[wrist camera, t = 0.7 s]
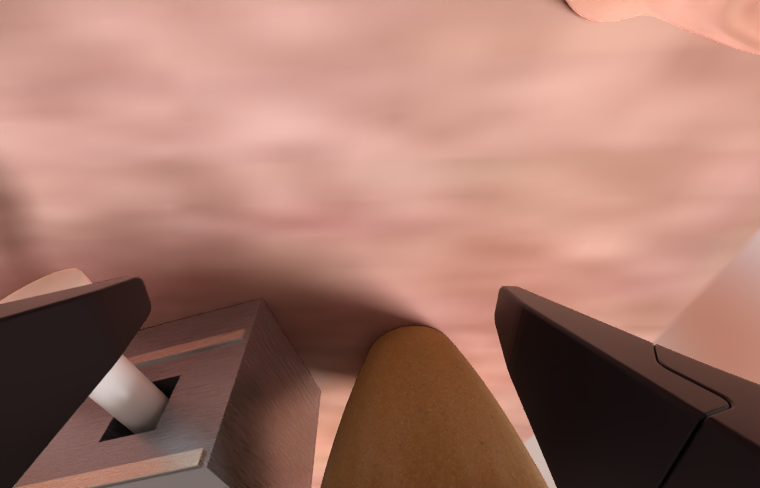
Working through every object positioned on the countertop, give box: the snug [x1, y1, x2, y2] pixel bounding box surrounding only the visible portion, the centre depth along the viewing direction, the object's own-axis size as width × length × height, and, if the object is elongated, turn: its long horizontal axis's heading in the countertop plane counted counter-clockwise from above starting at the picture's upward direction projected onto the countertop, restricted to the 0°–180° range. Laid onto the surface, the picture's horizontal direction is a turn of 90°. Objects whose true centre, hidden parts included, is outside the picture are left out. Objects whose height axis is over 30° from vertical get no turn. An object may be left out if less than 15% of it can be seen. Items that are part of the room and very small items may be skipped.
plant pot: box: [321, 326, 548, 488], centre depth 25 cm, size 15×15×16 cm
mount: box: [13, 298, 321, 488], centre depth 27 cm, size 12×12×12 cm
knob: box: [0, 268, 169, 434], centre depth 21 cm, size 14×5×5 cm, turn 16°
